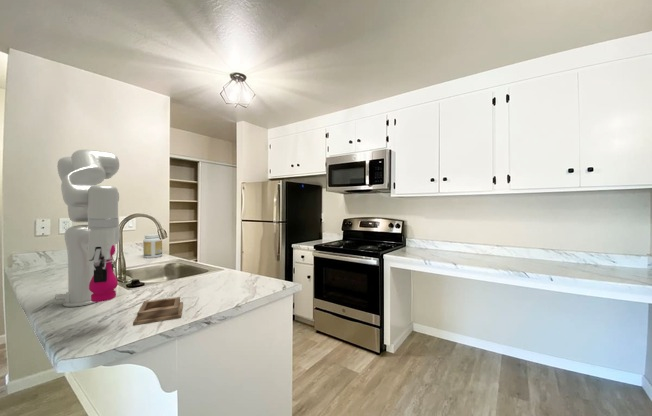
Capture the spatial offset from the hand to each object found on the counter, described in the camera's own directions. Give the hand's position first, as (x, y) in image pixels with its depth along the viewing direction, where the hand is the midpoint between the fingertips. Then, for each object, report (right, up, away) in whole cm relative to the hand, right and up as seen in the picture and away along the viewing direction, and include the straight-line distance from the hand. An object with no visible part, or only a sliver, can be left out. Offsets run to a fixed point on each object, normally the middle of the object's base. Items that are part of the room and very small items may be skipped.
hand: (103, 278), depth 88 cm
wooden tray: (+12, -16, +11) cm, 22 cm away
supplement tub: (-60, -14, +117) cm, 132 cm away
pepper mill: (0, -7, 0) cm, 7 cm away
